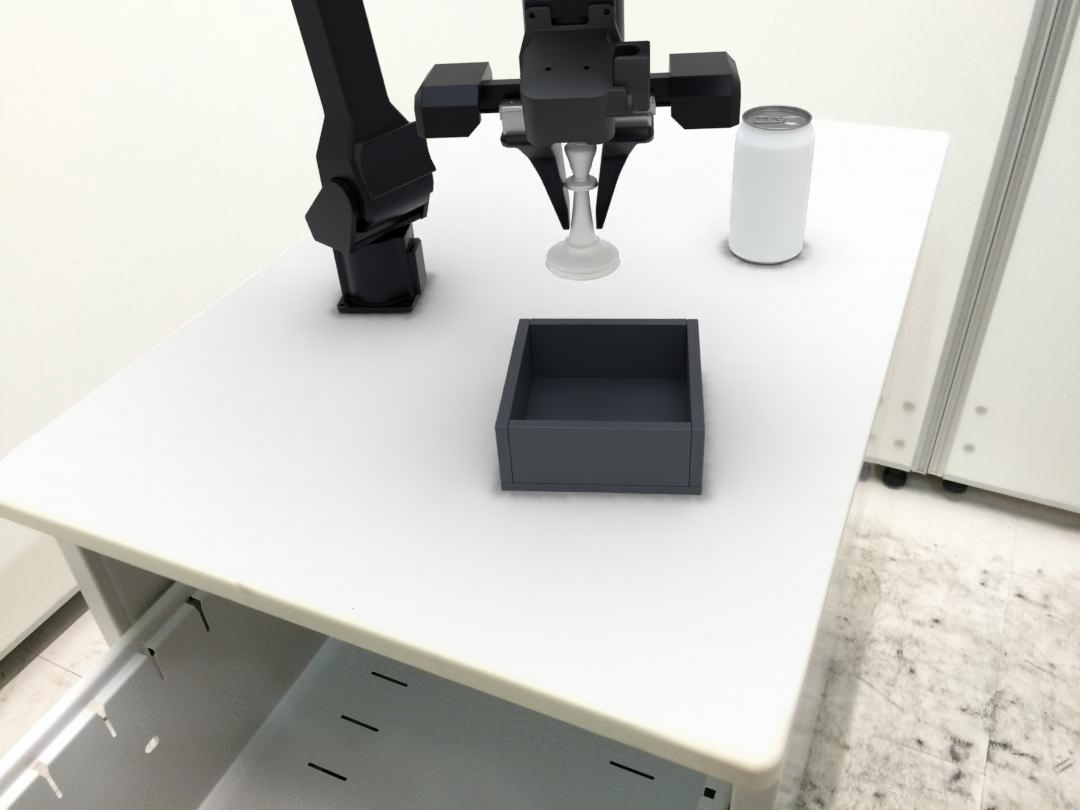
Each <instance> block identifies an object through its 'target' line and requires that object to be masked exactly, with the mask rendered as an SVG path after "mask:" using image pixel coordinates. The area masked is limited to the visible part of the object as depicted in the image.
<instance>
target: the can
mask: <svg viewBox="0 0 1080 810" xmlns="http://www.w3.org/2000/svg"><path fill="white" fill-rule="evenodd" d="M741 120H742V121H741V123H740V124H739V125H738V128H737V129H736V131H735V138H734V150H733V151H734V152H733V164H732V175H731V176H732V177H731V178H732V179H731V180H732V181H731V192H730V193H731V194H730V208H729V226H728V248H729V249H730V251H731V252H732V253H733V254H734V256H736V257H737V258H738V259H740V260H743V261H744V262H747V263H752V264H757V265H777V264H782V263H786V262H788V261H791V260H793V259H794V258H795V257H797V256H798V255H799V254H800V253H801V252H802V250H803V247H804V241H805V240H804V238H805V232H806V224H807V215H808V208H809V207H808V205H809V199H810V190H811V189H810V188H811V180H812V171H813V163H814V154H815V145H816V133H815V131H814V127H813V125H812V121H813V115H812V114H811V112H809V111H808V110H806V109H804V108H802V107H798V106H794V105H787V104H766V105H759V106H755V107H751V108H748V109H747V110H745V111H744V112H743V113H742V114H741Z"/></svg>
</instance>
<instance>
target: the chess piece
mask: <svg viewBox="0 0 1080 810" xmlns="http://www.w3.org/2000/svg"><path fill="white" fill-rule="evenodd" d="M597 149H598V145H588V144H586V143H584V142H576V143H565V145H564V147H563V150H564V153H565V156H566V158H567V160H568V165H569V168H570V170H571V173H572V175H570V176H568V177H566V178H567V179H566V180H565V184H564V186H565V187H566V188H567V189H568V191H571V192H573V199H572V211H571V219H570V229H569V235H568V236H567V237H565V239H563V240H559V241H558V242H556V243H554V244H553V245H552V246H551V247H549V249H548V250H547V252H546V259H545V267H546V269H547V270H548V271H549V272H550V273H551V274H552V275H553V276H556V277H558V278H560V279H564V280H569V281H582V282H583V281H584V282H585V281H593V280H598V279H602V278H605V277H608V276H609V275H611V274H613V273H615V272H616V271H617V270H618V268H620V265H621V259H620V251H619V249H618V247H616V245H614V244H613V243H612V242H610V241H608V240H605V239H603V238H600V237H599V236H598V235H597V234H596V232H595V226H594V220H593V213H592V207H591V206H592V205H591V197H590V191H593V190H595V189H596V188H598V178H597V177H596V176H594V175H591V174H590V172H591V169H592V166H593V162H594V158H595V156H596V154H597Z"/></svg>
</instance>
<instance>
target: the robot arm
mask: <svg viewBox="0 0 1080 810" xmlns="http://www.w3.org/2000/svg"><path fill="white" fill-rule="evenodd" d="M290 2H291V6H292V9H293V12H294V15H295V19H296V23H297V26H298V29H299V33H300V36H301V39H302V43H303V46H304V49H305V53H306V56H307V60H308V64H309V66H310V70H311V74H312V76H313V80H314V83H315V86H316V90H317V93H318V96H319V101H320V103H321V106H322V111H323V115H324V117H323V122H322V126H321V129H320V130H321V131H320V134H319V140H318V144H317V147H316V148H317V149H316V153H315V161H316V166H317V171H318V175H319V180H320V184H321V189H320V190H319V192H318V193H317V195H316V196H315V198H314V200H313V202H312V203H311V205H310V207H309V208H308V210H307V212H305V215H304V219H305V222H306V224H307V226H308V228H309V229H308V230H309V231H310V234H311V236H312V239H313V240H314V241H315V242H317V243H319V244H321V245H324V246H327V247H329V248H331V250H332V253H333V258H334V264H335V267H336V268H335V269H336V272H337V277H338V281H339V287H340V292H341V296H340V298H339V300H338V302H337V303H336V308H337V311H338V312H339V313H410V312H412V311H413V310H414V308H415V306H416V303H417V300H418V298H419V296H421V294H423V291H424V288H425V286H426V283H427V280H428V276H427V269H426V263H425V257H424V249H423V242H422V239H421V238H420V237H415V233H414V227H413V223H415V222H416V221H419V220H423V219H425V218H427V216H428V213H429V205H430V198H431V194H432V193H433V192H434V187H435V181H434V173H435V172H436V171H437V167H436V165H435V162H434V161H433V159H432V156H431V153H430V150H429V146H428V141H427V140H428V139H429V140H430V139H454V138H469V137H470V136H471V135H472V134H473V132H474V131H475V130H476V129H477V128H478V127H479V126H480V124H481V122H482V115H483V114H484V115H485V114H499V120H500V121H501V125H502V132H501V134H500V138H499V141H500V144H501V145H502V147H504V148H507V149H517V150H519V151H520V152H521V153H522V154H523V155H524V156H525V157H526V158H527V159H528V160H529V162H530V164H531V165H532V166H533V168H534V170H535V171H536V173H537V175H538V177H539V178H540V181H541V183H542V185H543V187H544V189H545V191H546V194H547V196H548V198H549V201H550V202H551V205H552V208H553V210H554V212H555V214H556V217H557V220H558V221H559V224H560V226H561V228H562V230H563V231H570V229H571V199H570V193H569V189H567V188H566V187H565V186H564V184H565V180H566V179H567V178H568V177H567V173H566V166H565V159H564V152H563V146H562V145H563V144H567V143H576V142H584V143H586V144H588V145H597V146H598V145H601V153H600V154H601V155H600V162H599V164H600V165H599V173H598V179H597V181H598V186H597V191H596V200H595V229H596V230H602V229H603V228H604V226H605V223H606V219H607V217H608V212H609V210H610V206H611V203H612V200H613V196H614V194H615V190H616V187H617V184H618V181H619V178H620V176H621V173H622V170H623V168H624V167H625V164H626V162H627V160H628V159H629V156H630V154H631V153H632V151H633V150H634V149H635V147H636V146H637V145H639V144H649V143H651V142H652V141H654V139H655V118H654V117H655V116H656V114H657V108H668V107H670V117H671V118H672V120H674V122H676V123H677V124H678V125H679V126H680V127H681V128H682V129H683V130H711V129H714V130H715V129H731V128H734V127H737V126H740V124H741V123H740V122H741V121H740V120H741V104H742V82H741V77H740V74H739V70H738V67H737V62H736V60H735V59H734V58H733V57H732V56H731V55H730V54H729V53H728V52H727V51H726V50H725V51H703V52H702V51H700V52H679V53H669V54H668V71H667V72H651V41H650V40H629V41H626V40H625V34H626V33H625V0H521V4H522V5H521V6H522V19H523V32H524V33H523V36H522V42H521V46H520V49H519V54H518V65H519V78H501V79H500V78H499V79H493V78H494V77H493V71H492V68H491V65H490V64H491V63H490V62H489V61H471V62H449V63H435V64H434V65H433V66H432V67H431V68H430V70H429V71H428V72H427V73H426V75H425V76H424V78H423V81H422V82H421V84H420V85H419V87H418V88H417V90H416V92H415V94H414V99H413V111H414V118H415V120H413V121H410V120H408V119H407V117H405V115H404V114H403V113H401V111H400V110H398V108H397V107H396V106H395V105H394V104H393V103H392V102H391V100H390V97H389V95H388V90H387V87H386V84H385V83H386V82H385V79H384V76H383V75H384V74H383V72H382V68H381V64H380V60H379V57H378V53H377V49H376V45H375V41H374V37H373V33H372V29H371V26H370V22H369V17H368V15H367V10H366V7H365V3H364V0H290Z"/></svg>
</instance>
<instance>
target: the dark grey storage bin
mask: <svg viewBox="0 0 1080 810" xmlns="http://www.w3.org/2000/svg"><path fill="white" fill-rule="evenodd" d="M699 325H700V324H699V319H698V318H568V317H567V318H565V317H564V318H560V317H559V318H554V317H553V318H551V317H550V318H549V317H547V318H545V317H543V318H542V317H541V318H538V317H537V318H532V317H531V318H519V319H518V322H517V326H516V331H515V336H514V341H513V344H512V350H511V352H510V358H509V361H508V362H509V363H508V367H507V370H506V375H505V380H504V385H503V387H502V393H501V397H500V401H499V406H498V410H497V416H496V420H495V424H494V433H495V435H494V436H495V443H496V451H497V460H498V461H497V462H498V470H499V478H500V479H499V480H500V487H501V490H502V491H503V490H504V491H539V492H540V491H541V492H543V491H544V492H545V491H546V492H585V493H587V492H588V493H627V494H629V493H632V494H669V495H671V494H673V495H675V494H677V495H702V493H703V476H704V475H703V474H704V459H705V443H706V442H705V439H706V420H705V419H706V418H705V407H704V406H705V405H704V404H705V403H704V389H703V388H704V387H703V374H702V373H703V372H702V359H701V342H700V341H701V340H700V339H701V338H700V326H699Z"/></svg>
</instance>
